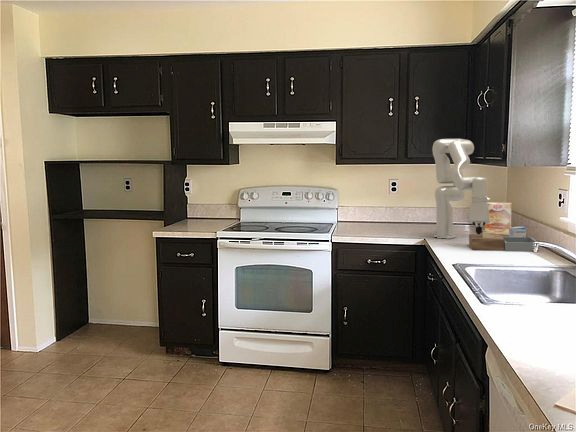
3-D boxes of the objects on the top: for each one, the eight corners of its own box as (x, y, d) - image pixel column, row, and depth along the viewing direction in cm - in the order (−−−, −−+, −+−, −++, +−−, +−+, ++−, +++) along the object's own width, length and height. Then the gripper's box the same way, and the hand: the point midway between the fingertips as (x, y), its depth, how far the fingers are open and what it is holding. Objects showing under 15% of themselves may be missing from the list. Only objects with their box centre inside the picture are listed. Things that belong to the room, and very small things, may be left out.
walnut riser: (469, 244, 278) (469, 234, 277) (499, 245, 274) (499, 234, 273) (471, 250, 263) (472, 239, 262) (504, 250, 258) (504, 239, 258)
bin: (499, 244, 275) (499, 236, 274) (531, 245, 271) (531, 237, 270) (505, 251, 257) (505, 242, 257) (538, 251, 253) (539, 242, 253)
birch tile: (481, 235, 271) (481, 230, 270) (493, 235, 269) (493, 230, 269) (482, 237, 265) (482, 232, 265) (494, 237, 263) (494, 232, 263)
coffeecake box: (484, 233, 313) (484, 203, 311) (485, 232, 319) (486, 202, 317) (510, 234, 306) (510, 203, 304) (511, 233, 312) (511, 202, 310)
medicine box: (514, 243, 278) (514, 228, 277) (508, 242, 283) (509, 227, 282) (526, 242, 280) (526, 227, 279) (520, 241, 285) (520, 226, 284)
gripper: (493, 199, 268) (492, 233, 270) (463, 199, 272) (463, 232, 274) (495, 200, 260) (494, 235, 263) (465, 201, 264) (464, 235, 267)
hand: (478, 234), depth 268 cm, fingers closed
